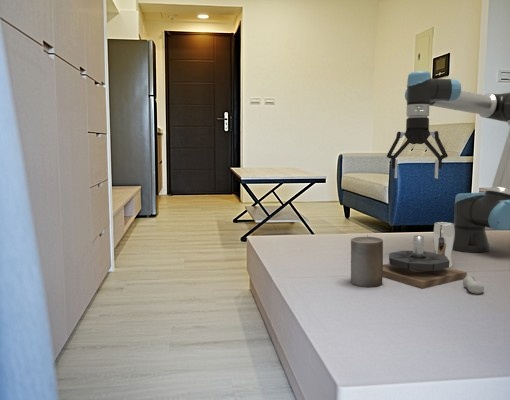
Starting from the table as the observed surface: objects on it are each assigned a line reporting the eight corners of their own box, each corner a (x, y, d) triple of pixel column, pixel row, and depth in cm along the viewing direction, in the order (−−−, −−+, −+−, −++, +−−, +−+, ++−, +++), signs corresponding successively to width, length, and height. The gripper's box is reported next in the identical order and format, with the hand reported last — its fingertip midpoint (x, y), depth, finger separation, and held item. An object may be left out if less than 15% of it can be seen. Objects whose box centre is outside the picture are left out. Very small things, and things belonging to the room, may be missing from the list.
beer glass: (455, 268, 163) (457, 225, 161) (434, 267, 164) (435, 224, 163) (451, 263, 170) (453, 222, 168) (430, 262, 171) (432, 221, 170)
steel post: (417, 267, 157) (418, 234, 156) (426, 269, 154) (427, 236, 152) (409, 269, 155) (410, 235, 154) (418, 271, 152) (419, 237, 150)
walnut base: (413, 264, 169) (413, 258, 169) (466, 278, 151) (466, 272, 151) (370, 272, 158) (370, 267, 158) (422, 288, 140) (422, 282, 140)
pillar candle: (383, 279, 150) (384, 233, 148) (381, 288, 140) (381, 238, 139) (352, 277, 153) (352, 231, 151) (348, 286, 144) (348, 237, 142)
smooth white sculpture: (484, 299, 134) (466, 293, 134) (476, 290, 142) (459, 284, 142) (489, 286, 133) (471, 279, 134) (481, 277, 141) (464, 271, 141)
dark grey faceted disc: (414, 254, 166) (414, 248, 166) (459, 265, 151) (460, 258, 151) (377, 261, 157) (377, 255, 157) (422, 273, 142) (422, 266, 141)
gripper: (380, 117, 164) (379, 178, 167) (458, 115, 158) (455, 179, 161) (380, 118, 172) (379, 177, 174) (454, 117, 166) (451, 177, 168)
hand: (415, 178), depth 167 cm, fingers open, 13 cm apart
